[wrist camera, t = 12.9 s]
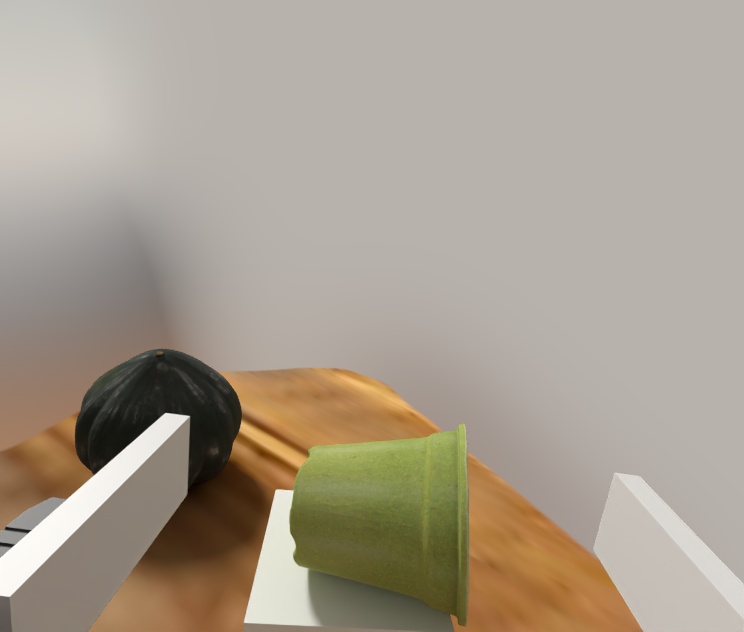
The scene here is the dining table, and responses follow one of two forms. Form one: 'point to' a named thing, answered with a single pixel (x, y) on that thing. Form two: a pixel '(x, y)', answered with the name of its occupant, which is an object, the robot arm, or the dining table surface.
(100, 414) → the squash
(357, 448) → the plant pot
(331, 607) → the pale top block
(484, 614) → the dining table surface
